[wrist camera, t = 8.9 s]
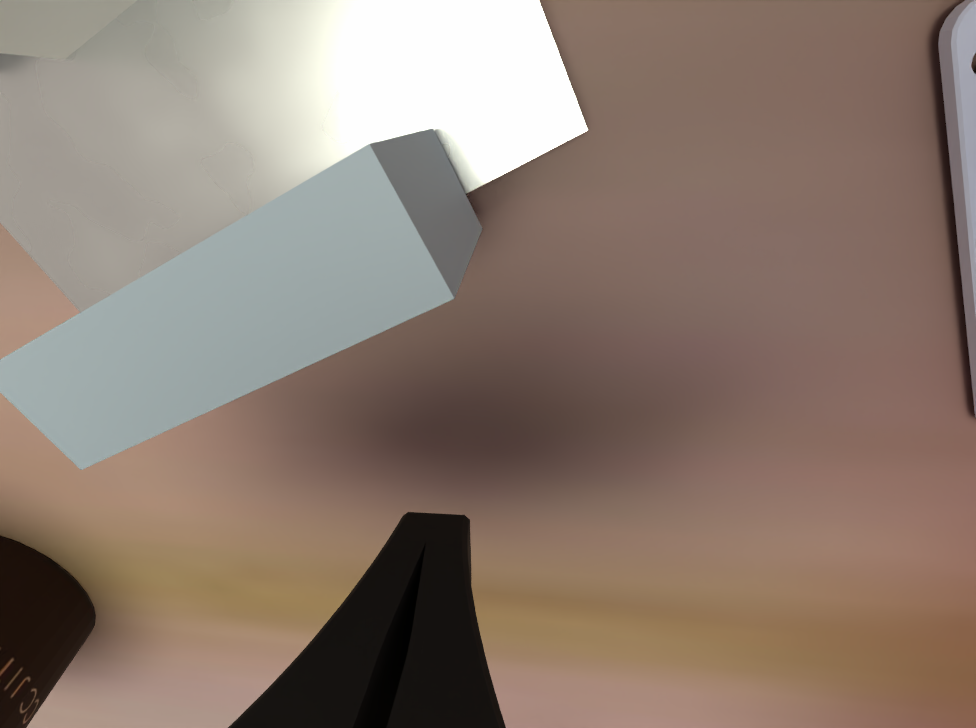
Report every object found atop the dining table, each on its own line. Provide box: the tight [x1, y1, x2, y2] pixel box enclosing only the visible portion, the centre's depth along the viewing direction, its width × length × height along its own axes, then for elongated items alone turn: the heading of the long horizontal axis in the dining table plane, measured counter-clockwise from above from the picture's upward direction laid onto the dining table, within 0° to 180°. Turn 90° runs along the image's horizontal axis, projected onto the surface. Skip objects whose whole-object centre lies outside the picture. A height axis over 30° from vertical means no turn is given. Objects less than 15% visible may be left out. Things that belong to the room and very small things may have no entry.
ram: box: [0, 128, 482, 470], centre depth 9 cm, size 2×7×4 cm, turn 117°
